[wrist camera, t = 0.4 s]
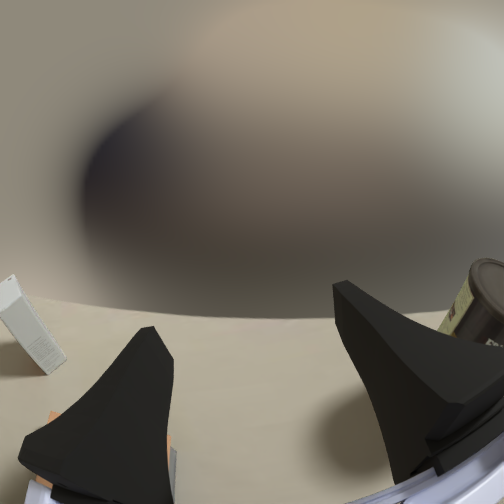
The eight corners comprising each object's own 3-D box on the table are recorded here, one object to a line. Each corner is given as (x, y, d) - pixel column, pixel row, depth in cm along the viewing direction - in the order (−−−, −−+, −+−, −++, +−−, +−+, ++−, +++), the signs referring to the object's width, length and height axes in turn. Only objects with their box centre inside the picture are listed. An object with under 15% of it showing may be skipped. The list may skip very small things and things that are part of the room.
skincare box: (33, 351, 28) (-10, 289, 21) (53, 335, 31) (14, 271, 24) (47, 377, 25) (-4, 314, 18) (68, 360, 28) (22, 293, 21)
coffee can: (485, 396, 21) (552, 321, 13) (426, 407, 22) (497, 328, 14) (467, 337, 29) (513, 260, 21) (412, 339, 31) (456, 252, 22)
